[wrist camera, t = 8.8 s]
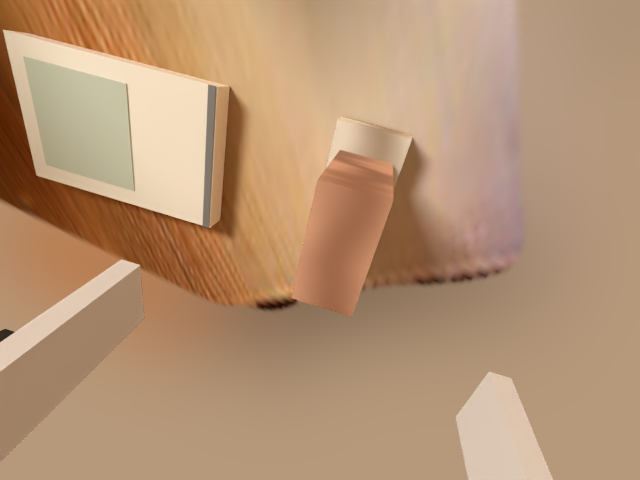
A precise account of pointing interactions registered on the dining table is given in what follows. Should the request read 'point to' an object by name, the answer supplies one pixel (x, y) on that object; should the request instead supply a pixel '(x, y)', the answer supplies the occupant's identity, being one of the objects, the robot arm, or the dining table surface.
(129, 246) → the dining table surface
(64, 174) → the white flat block
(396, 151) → the stub
